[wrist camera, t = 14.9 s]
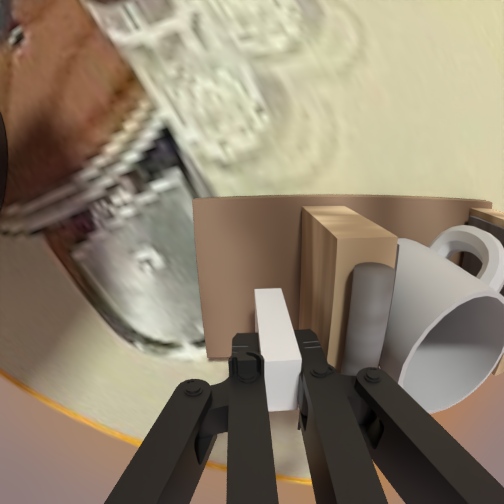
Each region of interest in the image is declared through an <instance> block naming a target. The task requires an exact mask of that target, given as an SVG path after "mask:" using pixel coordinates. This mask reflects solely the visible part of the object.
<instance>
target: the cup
mask: <svg viewBox="0 0 504 504" xmlns="http://www.w3.org/2000/svg"><path fill="white" fill-rule="evenodd" d="M397 244H399V245H400V246H399V255H398V263H397V271H396V278H395V285H394V292H393V298H392V304H391V310H390V316H389V321H388V326H387V331H386V336H385V341H384V346H383V350H382V355H381V359H380V364H379V366H380V367H381V369H382V370H384V371H385V372H386V373H387V374H388V375H389V376H391V377H392V378H393V379H394V380H395V381H396V382H397V383H398V384H399V385H400V386H401V387H402V388H403V389H404V390H405V391H406V392H407V393H408V394H409V395H410V396H411V397H412V398H413V399H414V400H415V401H416V402H417V403H418V404H419V405H420V406H421V407H422V408H423V409H424V410H425V411H427V412H428V413H435V412H438V411H441V410H444V409H447V408H449V407H451V406H453V405H455V404H457V403H459V402H460V401H462V400H463V399H464V398H466V397H467V396H469V395H470V394H471V393H473V391H475V390H476V389H477V388H478V387H479V386H480V385H481V384H482V383H483V382H484V381H485V380H486V378H487V377H488V376H489V375H490V373H491V372H492V371H493V369H494V368H495V367H496V365H497V363H498V362H499V360H500V358H501V356H502V355H503V353H504V297H503V296H502V295H501V294H500V293H499V292H500V291H501V289H502V287H503V285H504V248H503V246H502V244H501V243H500V241H499V240H498V239H496V238H495V237H494V236H493V235H492V234H490V233H488V232H486V231H483V230H481V229H479V228H476V227H474V226H467V225H460V226H454V227H451V228H449V229H447V230H445V231H443V232H441V233H440V234H439V235H438V236H437V237H436V238H435V239H434V240H433V241H432V243H431V244H430V245H429V246H428V247H426V246H424V245H422V244H420V243H418V242H416V241H413V240H410V239H406V238H398V242H397ZM460 251H467V252H471V253H473V254H474V255H476V256H477V257H478V258H479V259H480V260H481V262H482V263H483V265H482V268H481V270H480V272H479V273H478V275H477V276H476V277H475V276H473V275H471V274H470V273H468V272H467V271H465V270H464V269H462V268H461V267H459V266H457V265H456V264H454V263H453V262H451V261H449V259H450V257H451V256H452V255H454V254H455V253H457V252H460Z"/></svg>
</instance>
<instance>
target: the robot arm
mask: <svg viewBox="0 0 504 504" xmlns="http://www.w3.org/2000/svg"><path fill="white" fill-rule="evenodd" d="M6 174H7V147H6V136H5V129H4V124H3V120H2V116H1V113H0V210H1V207H2V202H3V197H4V192H5V184H6ZM254 292H255V333H236V335H235V336H234V337H233V339H232V355H231V356H230V358H229V360H228V364H229V377H228V378H227V379H226V380H225V381H223V382H221V383H219V384H215V385H211V386H210V385H209V384H208V383H207V382H206V381H203V380H200V379H190V380H186V381H184V382H182V383H180V384H179V385H178V386H177V388H176V389H175V391H174V392H173V394H172V396H171V397H170V399H169V400H168V402H167V404H166V405H165V407H164V409H163V410H162V412H161V413H160V415H159V417H158V418H157V420H156V421H155V423H154V425H153V426H152V428H151V429H150V431H149V433H148V434H147V436H146V437H145V439H144V441H143V442H142V444H141V445H140V447H139V449H138V451H137V452H136V453H135V455H134V457H133V458H132V460H131V461H130V464H129V465H128V466H127V468H126V470H125V471H124V473H123V474H122V476H121V477H120V479H119V481H118V482H117V484H116V485H115V487H114V489H113V490H112V492H111V493H110V495H109V496H108V498H107V500H106V501H105V503H104V504H189V503H190V501H191V498H192V496H193V494H194V492H195V489H196V487H197V484H198V482H199V480H200V477H201V475H202V472H203V470H204V468H205V465H206V463H207V460H208V458H209V455H210V453H211V451H212V448H213V446H214V443H215V441H216V438H217V434H220V433H224V432H228V450H227V504H279V503H278V494H277V485H276V476H275V467H274V458H273V449H272V440H271V431H270V422H269V413H268V412H270V411H285V410H297V407H298V404H299V408H300V412H299V421H298V430H300V428H301V431H302V435H303V440H304V445H305V450H306V455H307V460H308V465H309V470H310V475H311V480H312V485H313V489H314V494H315V500H316V504H388V502H387V499H386V496H385V494H384V491H383V488H382V485H381V483H380V480H379V477H378V475H377V472H376V470H375V467H374V464H373V461H374V463H375V464H376V465H377V466H378V468H379V469H380V471H381V472H382V473H383V475H384V476H385V477H386V479H387V480H388V481H389V483H390V484H391V485H392V486H393V488H394V489H395V490H396V492H397V493H398V494H399V496H400V497H401V498H402V499H403V501H404V502H405V503H406V504H504V488H503V486H502V485H501V484H500V483H499V482H498V481H497V480H496V479H495V478H494V477H493V476H492V475H491V474H490V473H489V472H487V470H486V469H484V468H483V467H482V466H481V464H479V463H478V462H477V461H476V460H475V459H474V458H473V457H472V456H471V455H470V454H469V453H468V452H467V451H466V450H465V449H464V448H463V447H462V446H461V445H460V444H459V443H458V442H457V441H456V440H455V439H454V438H453V437H452V436H451V435H450V434H449V433H448V432H447V431H446V430H445V429H444V428H443V427H442V426H441V425H440V424H439V423H438V422H437V421H436V420H435V419H434V418H433V417H431V415H429V413H428V412H427V411H425V410H424V409H423V408H422V407H421V406H420V405H419V404H418V403H417V402H416V401H415V400H414V399H413V398H412V397H411V396H410V395H409V394H408V393H407V392H406V391H405V390H404V389H403V388H402V387H401V386H400V385H399V384H398V383H397V382H396V381H395V380H394V379H393V378H392V377H391V376H389V375H388V374H387V373H386V372H385V371H384V370H382V369H379V368H376V367H367V368H363V369H361V370H359V372H358V373H357V376H350V375H343V374H339V373H337V371H336V369H335V368H334V367H333V366H331V365H330V364H328V362H327V360H326V357H325V354H324V352H323V349H322V347H321V344H320V342H319V339H318V337H317V334H316V333H314V332H313V331H312V330H311V329H301V330H293V327H292V324H291V320H290V317H289V313H288V310H287V307H286V303H285V300H284V296H283V293H282V290H281V288H271V289H254ZM372 460H373V461H372Z"/></svg>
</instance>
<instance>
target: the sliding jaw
mask: <svg viewBox="0 0 504 504" xmlns="http://www.w3.org/2000/svg"><path fill="white" fill-rule="evenodd" d="M397 242H398V237H397V236H396V235H394V234H392V233H391V232H389V231H387V230H386V229H384V228H382V227H381V226H379V225H377V224H376V223H374V222H372V221H370V220H369V219H367V218H365V217H363V216H362V215H360V214H358V213H356V212H354V211H353V210H351V209H349V208H347V207H345V206H302V249H301V286H300V312H299V330H301V329H311V330H312V331H313V332H314V333H316V334H317V337H318V339H319V342H320V344H321V347H322V349H323V352H324V354H325V357H326V360H327V362H328V364H330V365H331V366H333V367H334V368H335V369H336V371H337V373H339V374H343V375H350V376H357V373H358V372H359V370H361V369H363V368H367V367H376V368H379V364H380V359H381V355H382V350H383V346H384V341H385V336H386V331H387V326H388V321H389V316H390V310H391V304H392V298H393V292H394V285H395V278H396V271H397V263H398V255H399V246H400V245H399V244H397Z"/></svg>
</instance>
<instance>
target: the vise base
mask: <svg viewBox="0 0 504 504" xmlns="http://www.w3.org/2000/svg"><path fill="white" fill-rule="evenodd" d="M192 204H193V219H194V233H195V245H196V257H197V268H198V279H199V289H200V299H201V309H202V318H203V327H204V335H205V343H206V351H207V358H218V357H230V356H231V355H232V339H233V337H234V336H235V335H236V333H255V292H254V289H271V288H281V290H282V293H283V296H284V300H285V303H286V307H287V310H288V313H289V317H290V320H291V324H292V327H293V330H299V312H300V286H301V249H302V206H345V207H347V208H349V209H351V210H353V211H354V212H356V213H358V214H360V215H362V216H363V217H365V218H367V219H369V220H370V221H372V222H374V223H376V224H377V225H379V226H381V227H382V228H384V229H386V230H387V231H389V232H391V233H392V234H394V235H396V236H397V237H398V238H406V239H410V240H413V241H416V242H418V243H420V244H422V245H424V246H426V247H428V246H429V245H430V244H431V243H432V241H433V240H434V239H435V238H436V237H437V236H438V235H439V234H440V233H441V232H443V231H445V230H447V229H449V228H451V227H454V226H460V225H467V226H474V227H476V228H479V229H481V230H483V231H486V232H488V233H490V234H492V235H493V236H494V237H495V238H496V239H498V240H499V241H500V243H501V244H502V246H503V248H504V213H502V212H499V211H497V210H494V209H492V202H489V201H486V200H475V199H460V198H443V197H422V196H394V195H263V196H233V197H211V198H194V200H193V201H192ZM449 261H451V262H453V263H454V264H456V265H457V266H459V267H461V268H462V269H464V270H465V271H467V272H468V273H470V274H471V275H473V276H475V277H476V276H477V275H478V273H479V272H480V270H481V268H482V265H483V263H482V262H481V260H480V259H479V258H478V257H477V256H476V255H474V254H473V253H471V252H467V251H460V252H457V253H455V254H454V255H452V256H451V257H450V259H449ZM499 293H500V294H501V295H502V296H503V297H504V285H503V287H502V289H501V291H500V292H499ZM503 372H504V353H503V355H502V356H501V358H500V360H499V362H498V363H497V365H496V367H495V368H494V369H493V371H492V372H491V373H492V374H493V375H494V376H495V375H498V374H500V373H503Z"/></svg>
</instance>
